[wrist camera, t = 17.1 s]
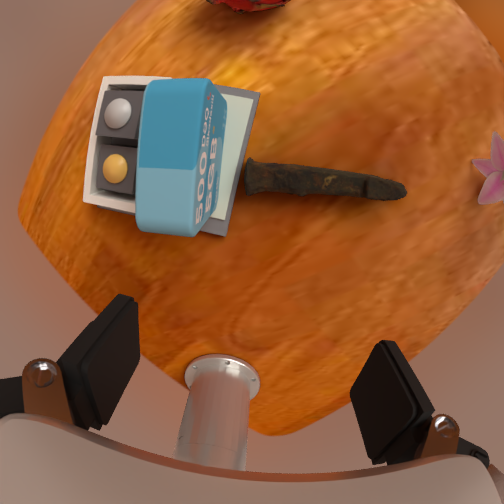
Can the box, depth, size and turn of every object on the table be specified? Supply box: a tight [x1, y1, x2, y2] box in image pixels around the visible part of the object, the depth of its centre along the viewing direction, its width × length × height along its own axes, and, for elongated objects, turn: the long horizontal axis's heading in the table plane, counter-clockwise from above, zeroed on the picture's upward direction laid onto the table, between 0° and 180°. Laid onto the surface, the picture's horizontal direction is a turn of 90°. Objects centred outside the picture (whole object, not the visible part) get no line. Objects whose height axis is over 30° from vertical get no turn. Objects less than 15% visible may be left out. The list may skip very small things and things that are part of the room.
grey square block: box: [95, 91, 144, 139], centre depth 23 cm, size 5×5×3 cm
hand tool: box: [244, 158, 407, 201], centre depth 28 cm, size 19×4×5 cm, turn 86°
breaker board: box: [83, 76, 260, 237], centre depth 27 cm, size 17×18×4 cm
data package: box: [135, 78, 227, 237], centre depth 22 cm, size 12×4×12 cm, turn 173°
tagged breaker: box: [96, 144, 138, 194], centre depth 27 cm, size 5×5×3 cm
